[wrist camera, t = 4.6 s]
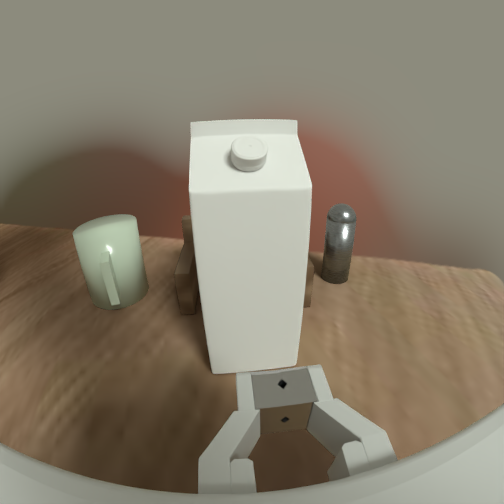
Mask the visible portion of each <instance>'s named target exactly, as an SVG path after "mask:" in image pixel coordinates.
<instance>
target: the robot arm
mask: <svg viewBox="0 0 504 504" xmlns="http://www.w3.org/2000/svg"><path fill="white" fill-rule="evenodd" d="M236 388H237V404H238V411H233V413H232V414H231V416H230V417H229V418H228V420H227V421H226V423H225V424H224V425H223V427H222V428H221V429H220V431H219V432H218V434H217V435H216V436H215V438H214V439H213V440H212V442H211V443H210V444H209V446H208V447H207V448H206V450H205V451H204V452H203V453H202V455H201V456H200V457H199V468H198V494H189V493H175V492H164V491H156V490H148V489H141V488H135V487H129V486H124V485H119V484H114V483H110V482H105V481H101V480H97V479H93V478H89V477H86V476H82V475H79V474H76V473H72V472H69V471H66V470H63V469H60V468H58V467H55V466H52V465H49V464H47V463H44V462H42V461H39V460H37V459H34V458H32V457H29V456H27V455H25V454H23V453H21V452H18V451H16V450H14V449H12V448H10V447H8V446H6V445H4V444H2V443H1V442H0V504H504V403H503V404H502V405H500V406H499V407H498V408H496V409H495V410H493V411H492V412H490V413H489V414H487V415H486V416H484V417H483V418H481V419H480V420H478V421H476V422H475V423H473V424H471V425H470V426H468V427H466V428H465V429H463V430H461V431H459V432H458V433H456V434H454V435H452V436H450V437H448V438H447V439H445V440H443V441H441V442H439V443H437V444H435V445H433V446H430V447H428V448H426V449H424V450H422V451H420V452H417V453H415V454H413V455H410V456H408V457H405V458H403V459H400V460H397V458H396V455H395V453H394V450H393V448H392V446H391V443H390V441H389V438H388V436H387V434H386V431H384V430H383V429H381V428H380V427H378V426H377V425H375V424H374V423H372V422H371V421H369V420H368V419H366V418H365V417H363V416H362V415H361V414H359V413H358V412H356V411H355V410H353V409H352V408H350V407H349V406H348V405H346V404H345V403H343V402H342V401H341V400H339V399H338V398H336V399H333V396H332V393H331V391H330V388H329V385H328V382H327V380H326V377H325V374H324V371H323V369H322V366H321V365H320V364H319V365H313V366H306V367H305V366H304V367H297V368H289V369H281V370H275V371H261V372H251V373H250V372H244V373H236ZM300 429H307V431H308V432H310V433H311V434H312V435H313V436H314V437H315V438H316V439H317V440H318V441H319V442H320V443H321V444H322V445H323V446H324V447H325V448H326V449H327V450H328V451H330V452H331V453H332V454H333V455H334V456H335V457H336V458H335V460H334V461H333V463H332V465H331V466H330V468H329V469H328V471H327V473H328V477H329V482H325V483H320V484H315V485H310V486H304V487H299V488H292V489H285V490H278V491H269V492H258V493H257V491H256V483H255V475H254V466H253V461H251V460H250V459H248V457H249V455H250V453H251V451H252V450H253V448H254V446H255V444H256V443H257V441H258V439H259V437H260V434H268V433H276V432H283V431H292V430H300Z"/></svg>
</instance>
